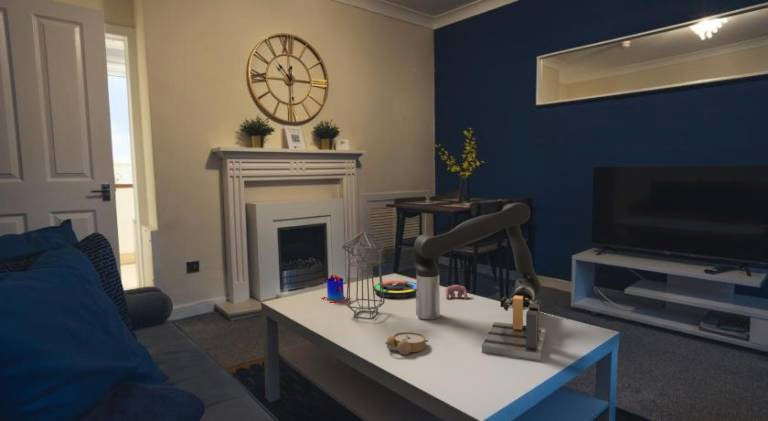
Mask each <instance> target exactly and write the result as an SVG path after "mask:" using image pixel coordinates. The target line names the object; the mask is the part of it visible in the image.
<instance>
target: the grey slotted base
mask: <svg viewBox="0 0 768 421" xmlns="http://www.w3.org/2000/svg"><path fill="white" fill-rule="evenodd" d="M525 315H526V316H525V318H526V319H525V325H524V324H523V328H522V330H518V329H513V323H508V322H507V323H505V322H498V321H494V322H493V323H492V325H491V327H490V329H489V331H488V333H487V335H486V336H485V338H484V340H483V342H482V344H481V353H483V354H487V355H488V354H490V355H495V356H503V357H508V358H509V357H510V358H517V359H523V360H529V361H537V362H541V361H542V356H543V352H544V346H545V340H546V334H547V333H546V332H547V327H540V311H539V304H530V305H529V310H528V309H527V311H526V314H525Z"/></svg>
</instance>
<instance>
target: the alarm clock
mask: <svg viewBox="0 0 768 421" xmlns="http://www.w3.org/2000/svg"><path fill="white" fill-rule="evenodd" d="M426 338H427V337H426V336H424V335H423V334H421V333H418V332H413V331H402V332H397V333H395V334H393V335H389V336H388V337H387V338H386V341H385V345H386V348H387V349H388V350H390V351H395V352H397V351H398V352H399V354H401V355H404V356H406V355H407V356H408V355H409V354H410V353H418V352H422V351H424V350H425V349H426V343H427V342H429V340H428V339H426Z"/></svg>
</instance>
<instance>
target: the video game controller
mask: <svg viewBox="0 0 768 421" xmlns="http://www.w3.org/2000/svg"><path fill="white" fill-rule="evenodd" d="M455 292H457V294H456V293H455ZM456 296H457V298H462V297H464V299H465V300H467V298H468V291H467V288H466V287H465V286H464V285H459V284H452V285H451V284H450V285H448V286H447V287H446V289H445V298H446V300H449V298H450V297H451V298H455V297H456Z"/></svg>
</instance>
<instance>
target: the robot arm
mask: <svg viewBox="0 0 768 421" xmlns="http://www.w3.org/2000/svg"><path fill="white" fill-rule="evenodd" d="M530 216H531V208H530V207H529V206H528V205H527V204H526V203H522V202H512V203H507V204H506V205H504V206H503V207H502V209H501V210H500V211H498V212H493V213H490V214H489V213H487V214H483V215H479V216H477V217H473V218H470V219H468V220H467V219H466V220H465V221H463V222H461V223H459V224H458V225H457V226H455V227H453V229H452V230H450V231H448V232H446V233H442V234H439V235H435V236H432V235H429V234H421V235H419V236H418V237H416V239H415V241H414V243H413V259H414V268H415V272H416V284H417V292H416V294H415V315H416V316H417V318H418V320H420V319H422V320H435V319H438V318H440V317H441V309H440V308H441V306H440V305H441V304H440V303H441V302H440V300H441V299H440V293H441V292H440V268H439V266H438V264H437V261H436V259H438V258H440V257H441V256H443V255H445V254H447V253H448V252H451V251H452V250H455V249H458V248H460V247H464V246H466V245H468V244H472V243H475V242H477V241H480V240H482V239H485V238H487V237H489V236H492V235H493V234H496V233H498V232H500V231H502V230H504V229H506V233H507V237H508V238H509V242H510V246H511V250H512V253H513V260H514V265H515V270H516V272H517V274H521V275H522V274H524V275H527V276H529V277H527V278H525V277H524V278H519V279H517V280H515V283H514V288H515V291H514V293H513V295H512V297H510V298H507V296H502V297H501V299H500V302H499V303H500V306H499V307H500V308H503V310H505V312H508V310H509V309H513V297H514V295H516V296H523V311H525V310H527V311H528V310H529V305H530V304H539V312H541V309H542V300H541V299H537V300H535V295H539V294H540V293H541V291H542V284H541V282H540V280H539V278H538V276H537V274H536V272H535V268H534V264H533V259H532V255H531V254H532V253H531V251H530V248H529V246H528V244H527V242H526V241H525V238H524V236H523V234H522V231H521V225H522V224H525V223H526V222H527V221H528V220H529V219H530ZM534 300H535V301H534Z"/></svg>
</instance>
